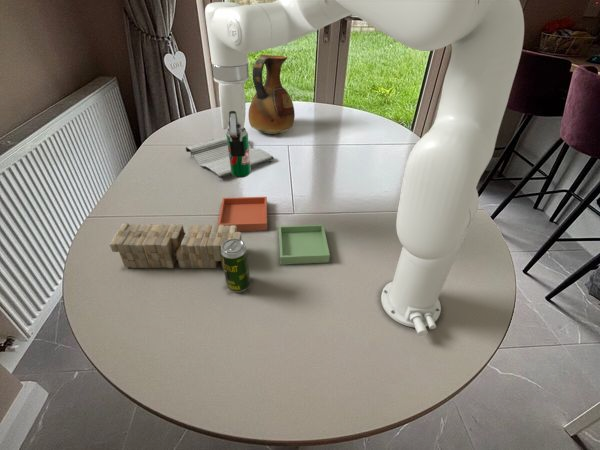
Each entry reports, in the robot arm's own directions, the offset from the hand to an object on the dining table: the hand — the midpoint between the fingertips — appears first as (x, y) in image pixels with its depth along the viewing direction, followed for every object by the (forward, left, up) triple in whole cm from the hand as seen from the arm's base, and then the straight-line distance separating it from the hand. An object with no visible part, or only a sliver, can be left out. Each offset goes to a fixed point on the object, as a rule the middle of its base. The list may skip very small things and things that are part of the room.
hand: (238, 149), depth 82 cm
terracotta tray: (+2, +1, -22) cm, 22 cm away
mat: (+38, +8, -22) cm, 45 cm away
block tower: (-14, +15, -22) cm, 30 cm away
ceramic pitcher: (+66, -8, -22) cm, 70 cm away
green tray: (-12, -15, -22) cm, 30 cm away
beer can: (-24, +1, -22) cm, 33 cm away
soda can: (0, 0, -7) cm, 7 cm away
